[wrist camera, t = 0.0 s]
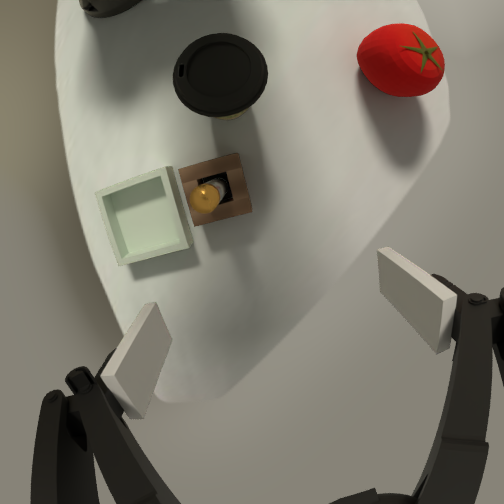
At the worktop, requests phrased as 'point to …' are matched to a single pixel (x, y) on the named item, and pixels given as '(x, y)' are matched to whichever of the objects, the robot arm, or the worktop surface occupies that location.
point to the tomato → (401, 60)
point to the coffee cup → (220, 76)
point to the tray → (144, 216)
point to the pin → (208, 195)
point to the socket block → (233, 168)
